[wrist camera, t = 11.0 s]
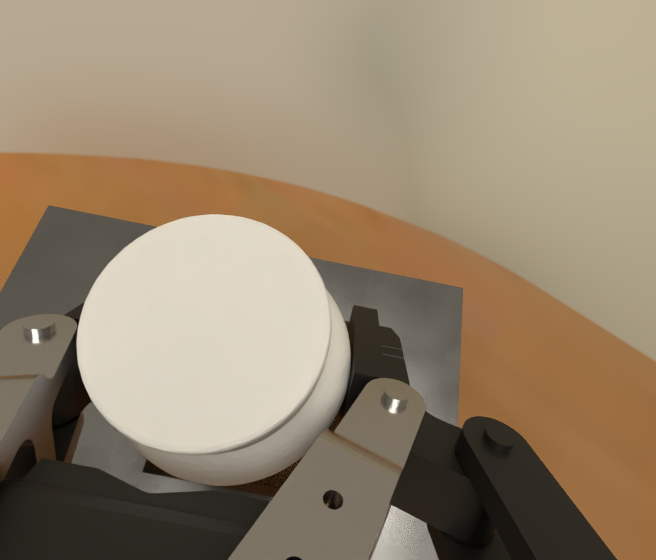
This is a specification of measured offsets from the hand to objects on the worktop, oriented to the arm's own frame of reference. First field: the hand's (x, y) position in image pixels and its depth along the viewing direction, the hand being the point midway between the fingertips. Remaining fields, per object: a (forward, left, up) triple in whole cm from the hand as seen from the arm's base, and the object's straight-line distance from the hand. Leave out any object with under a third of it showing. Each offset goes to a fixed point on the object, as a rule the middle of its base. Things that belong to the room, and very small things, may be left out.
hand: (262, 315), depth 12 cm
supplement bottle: (0, -2, -4) cm, 5 cm away
